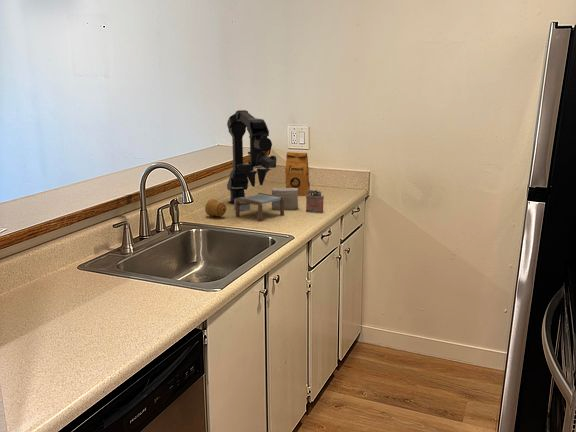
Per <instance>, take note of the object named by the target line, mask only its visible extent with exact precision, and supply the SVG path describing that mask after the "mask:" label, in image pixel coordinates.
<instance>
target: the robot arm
mask: <svg viewBox="0 0 576 432" xmlns="http://www.w3.org/2000/svg"><path fill="white" fill-rule="evenodd" d="M226 126H227V128H228V133H229V135H230V136H231V138H232V143H231V144H232V168H233V169H232V170H231V172H230V173H229V179H228V181H227V184H226V188H227V190H228V191H229V192H230V200H228V201H227V202H228V203H230V204H234V199H236V198H240V197H246V194H245V190H246V191H247V190H248V187H249V183H250V185H251V187H252V188H253V187H254V188H255V186H256V174H257V177H258V178H257V179H258V183H259V186H263V185H264V181H265V178H266V176H267V173H268V172H269V171H271V169H273V168H274V169H275V168H277V156H276V155H270V156H268V155H267V152H269V151H270V150H271V149H272V147H273V143H272V140H271V139H270V138H268V137H269V136H270V131H269V128H268V125H267V123H266V122H265V120H264V119H263V118H257V117H254V116H253V115H252V114H250V113H249V112H248V110H246V109H245V110H244V109H243V110H242V109H241V110H240V109H239V110H238V109H237V110H236V111H235V112H234V114H232V115H230V116H229V117H228V119H227V123H226ZM246 132H248V138H249V151H248V152H247V154H248V155H249V159H250V161H249V160H248V162H247V163H244V149H243V148H244V147H243V140H244V139H243V137H244V135H245V134H246Z"/></svg>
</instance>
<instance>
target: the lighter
mask: <svg viewBox="0 0 576 432" xmlns="http://www.w3.org/2000/svg"><path fill="white" fill-rule="evenodd" d="M308 193H310V194H308V195H306V196H305V198H306V199H305V200H306V203H305V206H306V207H305V209H306V210H305V212H306V213H313V214H323V213H324V198H325V196H324V195H322V191H321V190H318V189H315V190H314V189H310V190H308Z"/></svg>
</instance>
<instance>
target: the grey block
mask: <svg viewBox="0 0 576 432" xmlns="http://www.w3.org/2000/svg"><path fill="white" fill-rule="evenodd" d="M271 195H275V196H280V197H284V210H298V209H299V196H298V188H286V187H272V188H271ZM271 210H280V200H278V201H274V202H271Z"/></svg>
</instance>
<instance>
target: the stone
mask: <svg viewBox="0 0 576 432" xmlns="http://www.w3.org/2000/svg"><path fill="white" fill-rule="evenodd" d="M240 198H243V197H240ZM240 203H241V202H240ZM233 204H234V205H233V206H234V209H233V210H235V211H236V199H234V203H233ZM250 210H251V204H246V205H242V206H240V212H245V211H250Z"/></svg>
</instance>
